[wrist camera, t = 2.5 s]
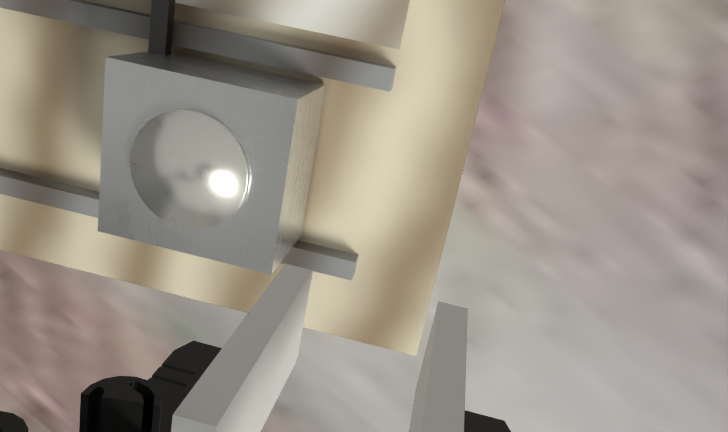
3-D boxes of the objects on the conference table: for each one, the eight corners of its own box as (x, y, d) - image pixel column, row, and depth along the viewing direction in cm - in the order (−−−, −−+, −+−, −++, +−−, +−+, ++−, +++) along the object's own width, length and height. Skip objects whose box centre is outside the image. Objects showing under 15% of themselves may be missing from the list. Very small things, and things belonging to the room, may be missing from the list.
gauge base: (-73, 212, 38) (-230, 272, 29) (-90, -129, 32) (-296, -178, 23) (419, 337, 35) (401, 442, 27) (506, -12, 29) (518, -19, 20)
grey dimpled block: (151, 198, 33) (92, 234, 28) (172, -70, 28) (106, -86, 23) (301, 234, 32) (268, 278, 27) (346, -35, 28) (316, -44, 22)
